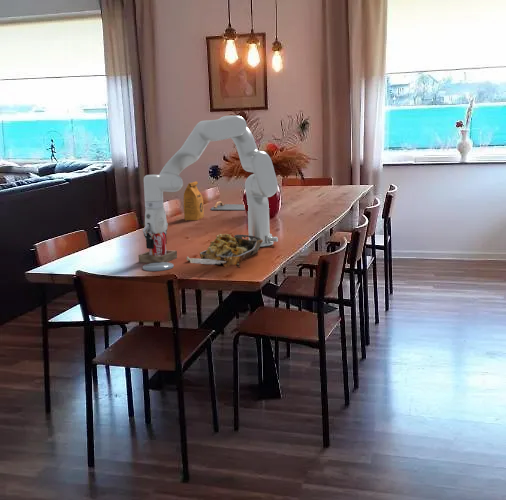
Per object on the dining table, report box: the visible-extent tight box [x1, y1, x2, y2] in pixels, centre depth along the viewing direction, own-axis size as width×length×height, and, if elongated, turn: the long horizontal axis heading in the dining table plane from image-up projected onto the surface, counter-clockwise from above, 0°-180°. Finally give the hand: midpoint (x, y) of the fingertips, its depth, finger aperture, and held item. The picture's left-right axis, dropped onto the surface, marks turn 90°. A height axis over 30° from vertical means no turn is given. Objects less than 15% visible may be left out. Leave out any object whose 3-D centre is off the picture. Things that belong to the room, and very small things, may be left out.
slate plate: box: [142, 261, 174, 272], centre depth 250 cm, size 12×12×1 cm
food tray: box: [185, 233, 266, 268], centre depth 266 cm, size 35×26×11 cm
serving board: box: [210, 200, 245, 212], centre depth 397 cm, size 39×23×6 cm, turn 70°
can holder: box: [138, 249, 178, 264], centre depth 264 cm, size 11×11×3 cm
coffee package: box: [183, 181, 205, 221], centre depth 364 cm, size 10×12×22 cm
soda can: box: [148, 231, 167, 256], centre depth 263 cm, size 7×7×12 cm
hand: (156, 246), depth 263 cm, fingers open, 9 cm apart
